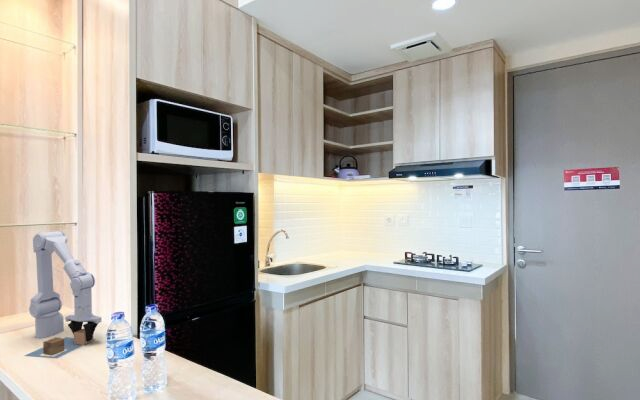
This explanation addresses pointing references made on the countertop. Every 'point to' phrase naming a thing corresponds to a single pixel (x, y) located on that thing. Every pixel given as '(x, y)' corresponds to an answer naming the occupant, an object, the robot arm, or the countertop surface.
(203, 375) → the countertop surface
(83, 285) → the robot arm
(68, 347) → the blueprint board
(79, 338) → the terracotta block
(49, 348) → the walnut block
